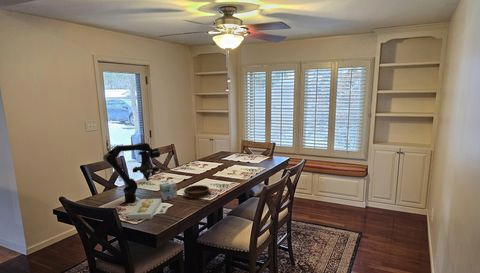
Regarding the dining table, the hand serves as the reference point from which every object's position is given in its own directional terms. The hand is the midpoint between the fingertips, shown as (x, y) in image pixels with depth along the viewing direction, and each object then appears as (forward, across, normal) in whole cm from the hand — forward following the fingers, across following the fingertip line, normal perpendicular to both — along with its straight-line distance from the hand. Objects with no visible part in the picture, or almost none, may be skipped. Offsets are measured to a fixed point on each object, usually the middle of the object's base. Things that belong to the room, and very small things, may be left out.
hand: (147, 180), depth 216 cm
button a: (+12, +7, -34) cm, 36 cm away
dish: (+13, +36, 0) cm, 38 cm away
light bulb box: (+12, +16, -4) cm, 20 cm away
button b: (+10, +6, -27) cm, 29 cm away
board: (+12, +6, -27) cm, 30 cm away
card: (+12, +18, -26) cm, 34 cm away
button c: (+12, +6, -20) cm, 24 cm away
